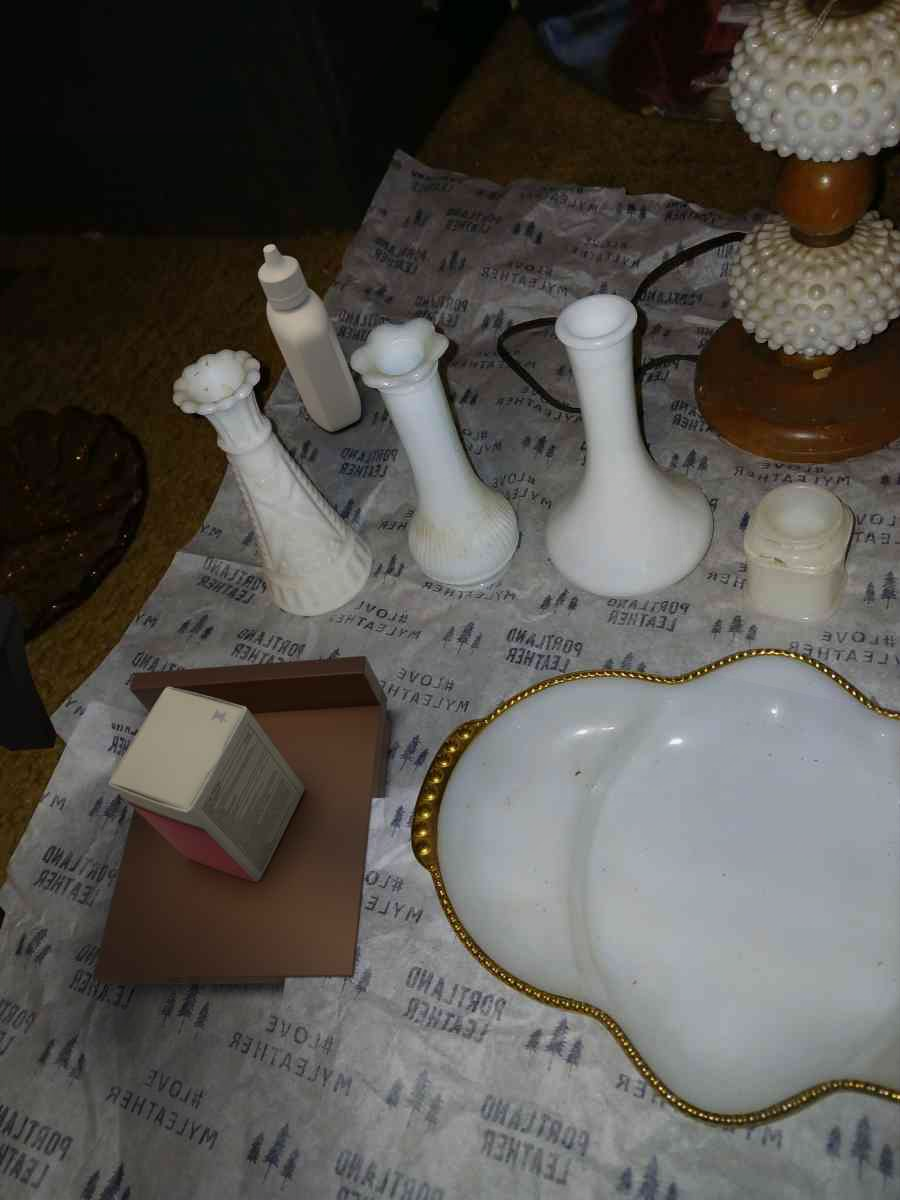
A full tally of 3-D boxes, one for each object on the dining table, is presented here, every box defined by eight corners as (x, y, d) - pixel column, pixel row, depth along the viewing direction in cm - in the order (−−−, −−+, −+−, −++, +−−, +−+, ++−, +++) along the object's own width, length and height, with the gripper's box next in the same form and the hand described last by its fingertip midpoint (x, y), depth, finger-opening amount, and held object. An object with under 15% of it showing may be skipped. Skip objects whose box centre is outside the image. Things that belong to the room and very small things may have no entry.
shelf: (365, 989, 46) (330, 952, 42) (112, 991, 49) (57, 956, 45) (392, 708, 54) (365, 654, 50) (175, 722, 57) (133, 672, 53)
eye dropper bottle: (371, 371, 70) (314, 212, 61) (359, 433, 67) (296, 275, 57) (309, 377, 71) (243, 222, 62) (293, 438, 68) (222, 285, 58)
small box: (233, 765, 52) (165, 680, 46) (309, 788, 50) (248, 704, 44) (182, 859, 50) (102, 783, 43) (259, 887, 48) (187, 812, 42)
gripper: (-224, 863, 27) (51, 1014, 37) (-43, 446, 35) (139, 665, 46) (-451, 876, 28) (-124, 1018, 39) (-225, 471, 37) (-7, 679, 47)
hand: (8, 827), depth 43 cm, fingers open, 7 cm apart
